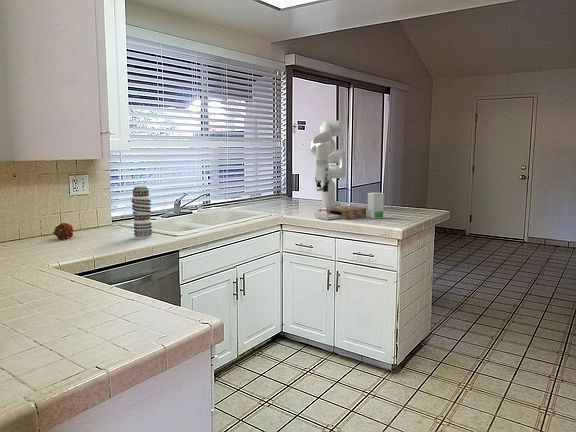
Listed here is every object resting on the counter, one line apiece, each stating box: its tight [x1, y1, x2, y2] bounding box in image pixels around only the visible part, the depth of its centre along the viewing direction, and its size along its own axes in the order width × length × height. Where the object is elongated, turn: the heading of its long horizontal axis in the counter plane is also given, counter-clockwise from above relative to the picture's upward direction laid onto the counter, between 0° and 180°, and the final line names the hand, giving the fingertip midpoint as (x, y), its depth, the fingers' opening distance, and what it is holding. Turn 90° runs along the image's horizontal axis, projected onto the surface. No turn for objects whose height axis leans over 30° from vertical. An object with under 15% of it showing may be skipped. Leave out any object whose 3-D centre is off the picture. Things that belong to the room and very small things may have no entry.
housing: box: [326, 205, 367, 221], centre depth 289 cm, size 16×20×5 cm
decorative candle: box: [130, 185, 153, 240], centre depth 225 cm, size 9×9×25 cm
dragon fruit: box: [53, 222, 74, 240], centre depth 224 cm, size 8×8×12 cm
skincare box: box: [366, 192, 385, 219], centre depth 282 cm, size 8×7×16 cm
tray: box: [314, 210, 342, 221], centre depth 283 cm, size 15×13×4 cm
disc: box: [316, 186, 323, 192], centre depth 287 cm, size 7×7×2 cm
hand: (322, 191), depth 288 cm, fingers closed on disc, 7 cm apart
